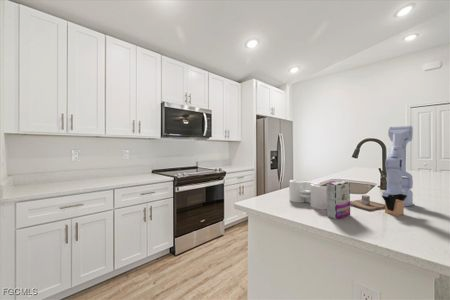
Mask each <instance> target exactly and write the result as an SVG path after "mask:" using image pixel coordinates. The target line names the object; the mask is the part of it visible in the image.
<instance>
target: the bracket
mask: <svg viewBox="0 0 450 300" xmlns="http://www.w3.org/2000/svg"><path fill="white" fill-rule="evenodd" d="M288 183H289V201H290V202H293V203H304V202H305V203H310V207H312V208H313V209H318V210H327V186H321V183H320V182H311V181H305V180H303V181H298V179H289V182H288Z"/></svg>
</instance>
